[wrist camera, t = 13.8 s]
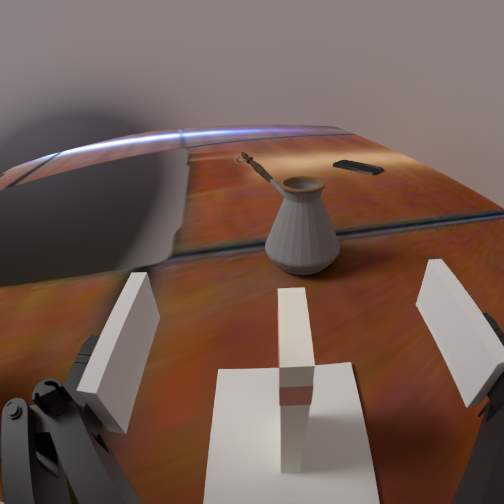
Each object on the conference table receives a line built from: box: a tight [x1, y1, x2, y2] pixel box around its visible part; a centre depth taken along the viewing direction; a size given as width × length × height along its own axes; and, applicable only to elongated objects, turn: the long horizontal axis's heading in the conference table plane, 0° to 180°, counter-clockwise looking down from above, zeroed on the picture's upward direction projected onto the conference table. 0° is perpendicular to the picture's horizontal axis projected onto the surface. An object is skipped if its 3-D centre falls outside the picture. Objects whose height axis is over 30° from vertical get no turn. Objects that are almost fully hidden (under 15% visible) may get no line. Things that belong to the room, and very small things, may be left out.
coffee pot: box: [237, 152, 340, 275], centre depth 50 cm, size 21×12×15 cm, turn 34°
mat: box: [203, 362, 380, 504], centre depth 24 cm, size 18×14×1 cm
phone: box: [333, 160, 383, 175], centre depth 93 cm, size 8×1×15 cm
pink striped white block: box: [278, 288, 315, 473], centre depth 20 cm, size 6×2×15 cm, turn 177°
